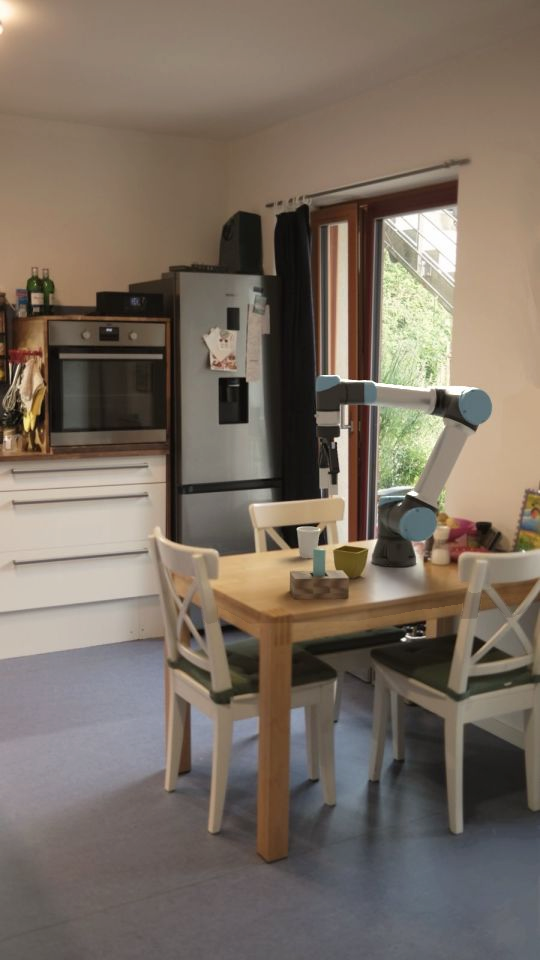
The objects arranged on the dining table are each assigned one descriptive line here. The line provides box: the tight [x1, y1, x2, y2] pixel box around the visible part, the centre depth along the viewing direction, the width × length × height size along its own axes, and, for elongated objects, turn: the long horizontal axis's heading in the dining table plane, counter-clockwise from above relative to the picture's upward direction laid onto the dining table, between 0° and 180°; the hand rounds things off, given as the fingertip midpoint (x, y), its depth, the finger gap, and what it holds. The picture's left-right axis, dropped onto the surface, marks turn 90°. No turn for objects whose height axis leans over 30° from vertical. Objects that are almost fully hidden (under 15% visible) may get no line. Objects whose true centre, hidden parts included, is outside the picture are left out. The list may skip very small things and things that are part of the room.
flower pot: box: [332, 544, 369, 579], centre depth 313 cm, size 9×9×9 cm
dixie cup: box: [296, 526, 321, 559], centre depth 342 cm, size 8×8×10 cm
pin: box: [312, 548, 327, 577], centre depth 289 cm, size 4×4×12 cm
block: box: [289, 569, 350, 600], centre depth 290 cm, size 16×10×6 cm, turn 97°
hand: (328, 491), depth 310 cm, fingers open, 13 cm apart
